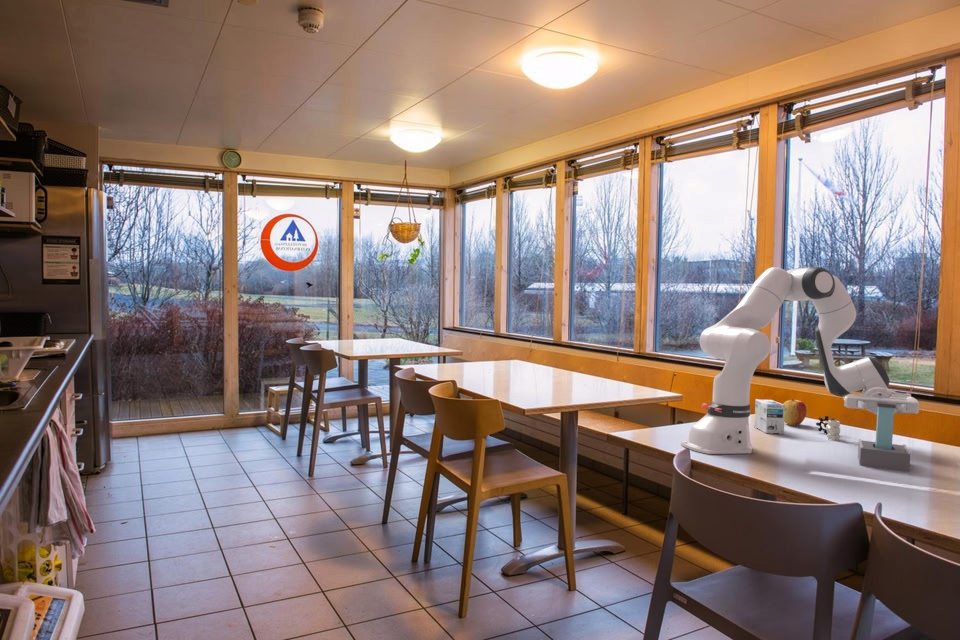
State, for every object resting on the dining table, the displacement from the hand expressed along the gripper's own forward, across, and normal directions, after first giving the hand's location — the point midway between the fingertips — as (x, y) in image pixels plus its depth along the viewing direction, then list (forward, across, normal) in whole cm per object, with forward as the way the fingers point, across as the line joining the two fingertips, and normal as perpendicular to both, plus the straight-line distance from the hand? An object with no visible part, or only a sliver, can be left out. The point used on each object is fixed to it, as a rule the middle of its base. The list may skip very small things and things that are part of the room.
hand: (882, 407), depth 198 cm
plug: (+13, 0, +15) cm, 19 cm away
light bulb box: (-23, -33, +16) cm, 43 cm away
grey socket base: (+13, 0, +16) cm, 20 cm away
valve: (-25, -13, +16) cm, 33 cm away
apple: (-40, -26, +16) cm, 50 cm away
